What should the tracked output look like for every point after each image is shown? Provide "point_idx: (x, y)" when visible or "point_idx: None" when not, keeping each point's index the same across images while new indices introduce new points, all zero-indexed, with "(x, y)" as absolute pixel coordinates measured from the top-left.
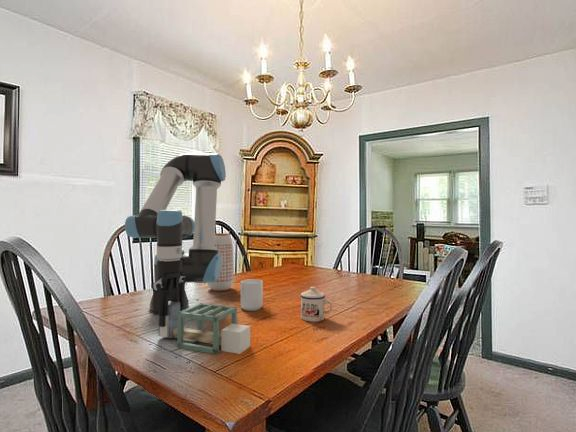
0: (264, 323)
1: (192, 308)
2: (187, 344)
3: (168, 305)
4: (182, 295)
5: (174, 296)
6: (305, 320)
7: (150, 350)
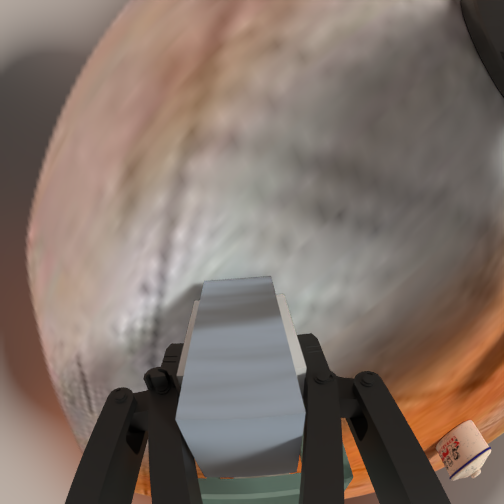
0: (434, 411)
1: (257, 497)
2: None
3: (200, 464)
4: (372, 472)
5: (301, 489)
6: (442, 438)
7: (112, 330)
